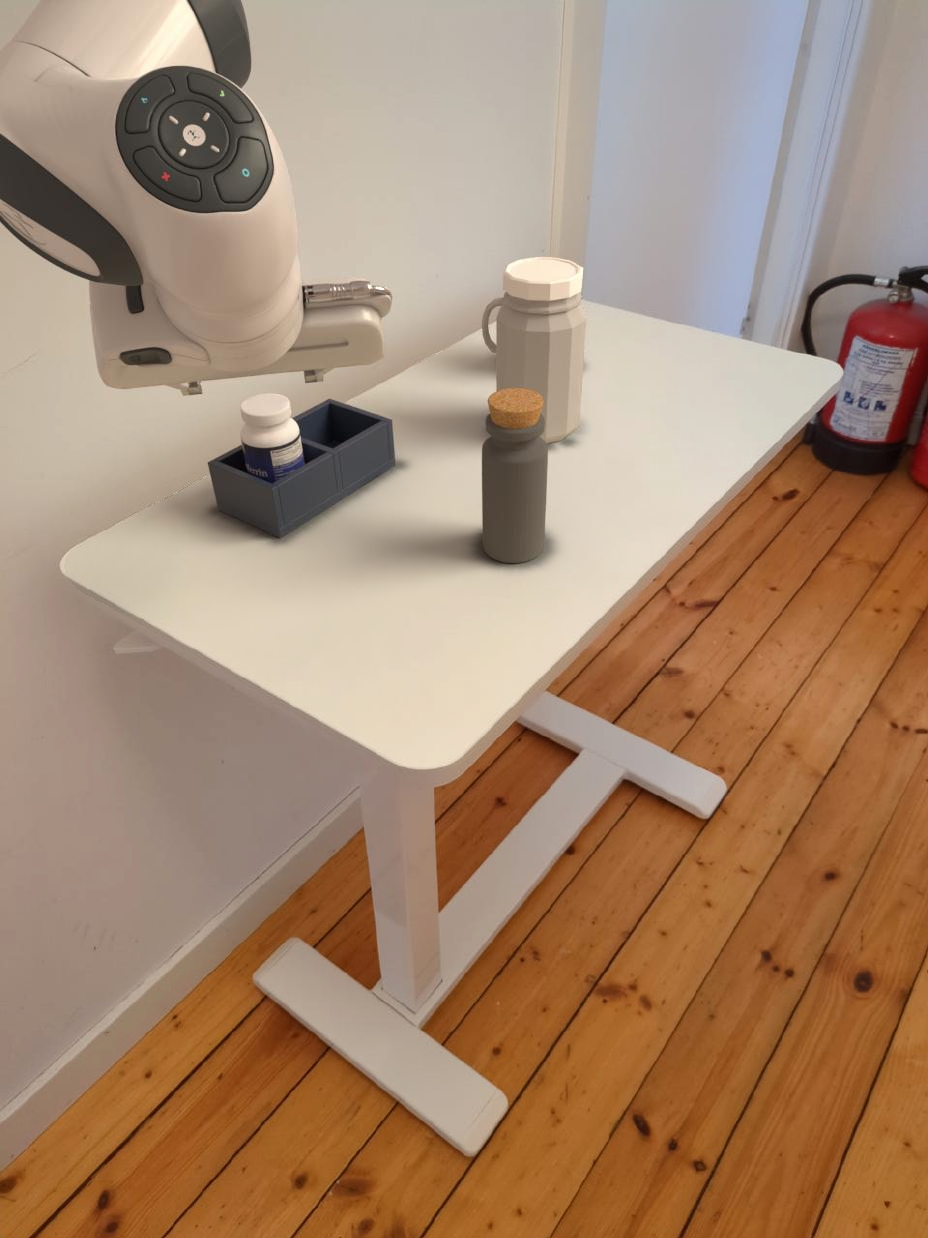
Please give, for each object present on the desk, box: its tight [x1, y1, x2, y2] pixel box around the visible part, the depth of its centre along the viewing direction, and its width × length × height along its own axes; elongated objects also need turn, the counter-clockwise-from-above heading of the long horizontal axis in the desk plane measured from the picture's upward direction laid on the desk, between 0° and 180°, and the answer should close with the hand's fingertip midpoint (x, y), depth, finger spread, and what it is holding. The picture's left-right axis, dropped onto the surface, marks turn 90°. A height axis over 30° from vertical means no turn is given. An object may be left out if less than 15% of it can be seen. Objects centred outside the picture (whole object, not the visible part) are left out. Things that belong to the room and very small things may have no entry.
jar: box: [495, 256, 588, 444], centre depth 98 cm, size 10×10×18 cm
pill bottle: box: [239, 392, 305, 484], centre depth 88 cm, size 6×6×10 cm
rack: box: [207, 398, 397, 539], centre depth 93 cm, size 17×9×6 cm, turn 143°
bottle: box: [481, 388, 549, 564], centre depth 80 cm, size 6×6×15 cm
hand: (253, 379), depth 71 cm, fingers open, 8 cm apart
